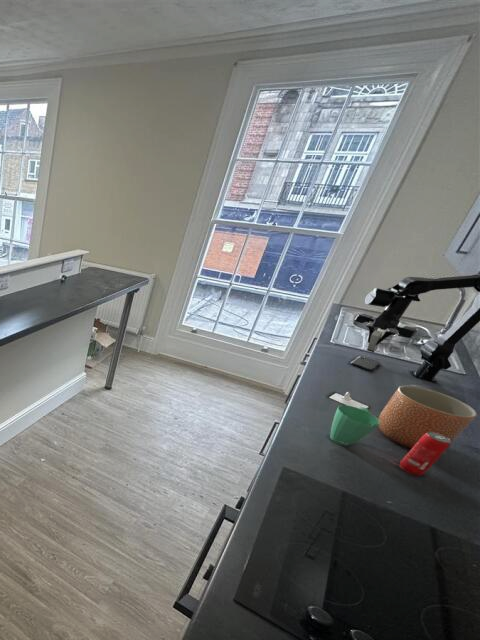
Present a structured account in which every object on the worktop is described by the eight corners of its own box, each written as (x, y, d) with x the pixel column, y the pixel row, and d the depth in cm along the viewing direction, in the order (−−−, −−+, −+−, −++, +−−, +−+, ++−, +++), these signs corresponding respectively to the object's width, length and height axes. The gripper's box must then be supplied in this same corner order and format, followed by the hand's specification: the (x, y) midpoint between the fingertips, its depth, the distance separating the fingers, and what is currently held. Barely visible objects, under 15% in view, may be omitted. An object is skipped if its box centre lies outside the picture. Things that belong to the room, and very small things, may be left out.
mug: (355, 455, 118) (375, 428, 112) (316, 437, 124) (334, 411, 119) (367, 438, 126) (387, 413, 120) (330, 422, 132) (347, 397, 127)
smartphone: (350, 362, 174) (360, 355, 182) (349, 363, 174) (359, 356, 182) (371, 369, 169) (381, 362, 177) (370, 371, 170) (380, 363, 177)
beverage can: (392, 463, 116) (420, 431, 109) (408, 463, 116) (436, 431, 110) (411, 476, 111) (441, 443, 105) (427, 476, 112) (457, 443, 106)
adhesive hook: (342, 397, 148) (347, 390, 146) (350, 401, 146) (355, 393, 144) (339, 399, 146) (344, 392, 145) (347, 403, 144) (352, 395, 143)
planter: (438, 441, 127) (473, 402, 120) (442, 466, 116) (481, 424, 109) (370, 417, 137) (398, 379, 129) (367, 438, 126) (398, 398, 118)
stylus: (370, 346, 176) (375, 329, 167) (377, 348, 174) (382, 332, 165) (366, 350, 176) (371, 334, 167) (373, 352, 174) (378, 336, 165)
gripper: (360, 303, 165) (338, 337, 173) (419, 320, 152) (393, 356, 160) (370, 300, 170) (349, 334, 178) (428, 316, 157) (402, 351, 165)
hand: (372, 343), depth 170 cm, fingers closed on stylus, 2 cm apart
